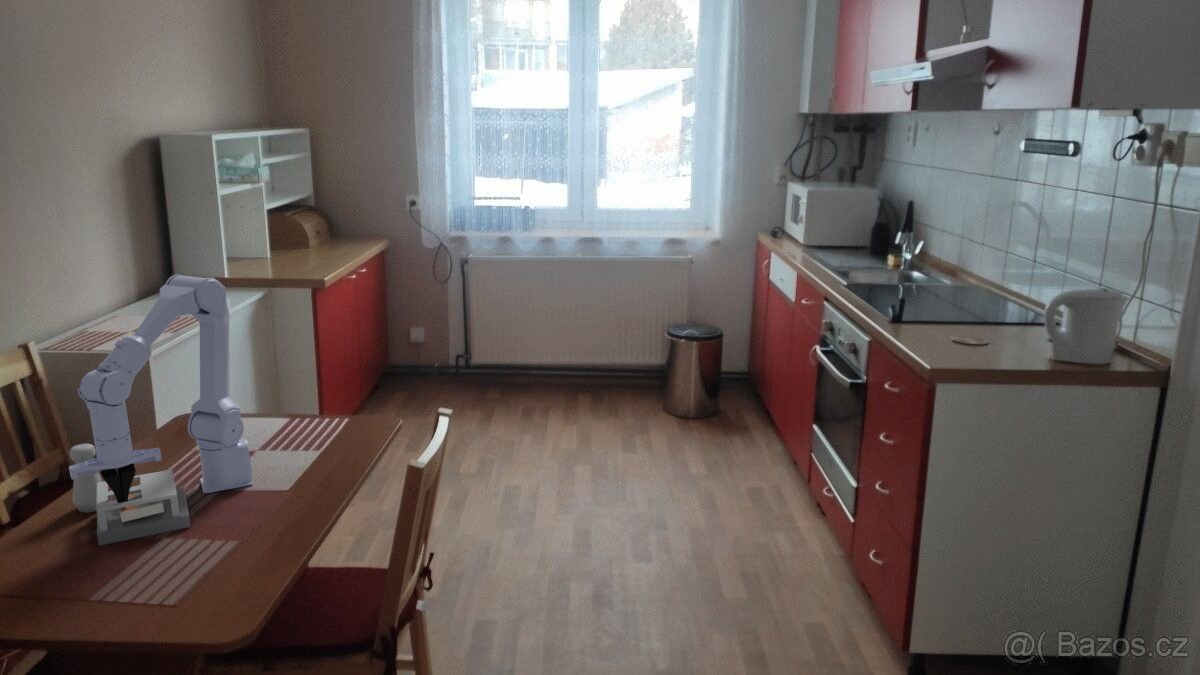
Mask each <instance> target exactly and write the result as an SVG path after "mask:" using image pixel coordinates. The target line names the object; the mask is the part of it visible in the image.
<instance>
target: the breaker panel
mask: <svg viewBox="0 0 1200 675" xmlns="http://www.w3.org/2000/svg"><path fill="white" fill-rule="evenodd" d="M173 471H174V470H173V469H166V470H160V471H156V472H149V473H144V474H137V475H135V476H134V478H133V481H132V482H135V481H140V482H139V483H140V484H141V486H137V485H134V486H135V487H134V486H131V487H130V490H129V495H130V494H135V493H141V494H142V499H138V500H133V501H127V502H122V503H117V499H114V500H109V499H112V498H116V497H115V494H114V493H113V491H112V490H109V485H108V484H107V483H106V482H105V480H103V481H102V482H97V511H96V513H97V516H96V518H97V519H96V536H97V542H98V546H104V545H109V544H115V543H119V542H124V541H127V540H133V539H138V538H143V537H149V536H153V535H159V534H163V533H167V532H173V531H178V530H182V529H188V528H191V523H190V522H191V521H190V513H189V508H188V503H187V498H186V494H185V489H184V487H178V488H176V481H175V476H174V472H173ZM160 500H163V506H164V512H161V513H157V514H153V515H149V516H145V517H141V518H137V519H134V520H130V521H126V522H122V520H121V516H120V508H123V507H128V506H133V505H138V504H144V503H149V502H154V501H160Z"/></svg>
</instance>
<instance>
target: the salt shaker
mask: <svg viewBox="0 0 1200 675" xmlns="http://www.w3.org/2000/svg"><path fill="white" fill-rule="evenodd" d="M95 456H96V448H95V445H93V444H91V443H80V444H76V445H73V446H72V447H71V448H70V449H69V457H70V459H71V461H74V465H76V464H80V463H83V462H86V461H89V460H92V459H94V457H95ZM101 477H102V476H101V474H100V472H99V473H94V474H90V475H85V476H81V477H79V478H78V479H73V484H72V499H71V500H72V502H73V504H74V506H75V507H76V508H77V510H78V511H79V512H80V513H86V514H87V513H93V512H97V482H103V481H102V478H101Z"/></svg>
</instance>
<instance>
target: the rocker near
mask: <svg viewBox="0 0 1200 675" xmlns="http://www.w3.org/2000/svg"><path fill="white" fill-rule="evenodd" d="M138 499H142V497H141V498H137V499H133V500H138ZM133 500H129V501H133ZM161 512H164V506H163V500H160V501H154V502H149V503H144V504H138V505H133V506H128V507H123V508H120V516H121V520H122V522H126V521H130V520H134V519H137V518H141V517H145V516H149V515H153V514H157V513H161Z"/></svg>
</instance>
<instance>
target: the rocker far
mask: <svg viewBox="0 0 1200 675" xmlns="http://www.w3.org/2000/svg"><path fill="white" fill-rule="evenodd" d="M135 486H141V483H140V484H138V485H134V486H133V487H135ZM141 497H142V494H141V493H135V494H130V495H129V496H128V501H129V500H133V499H137V498H141Z"/></svg>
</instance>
